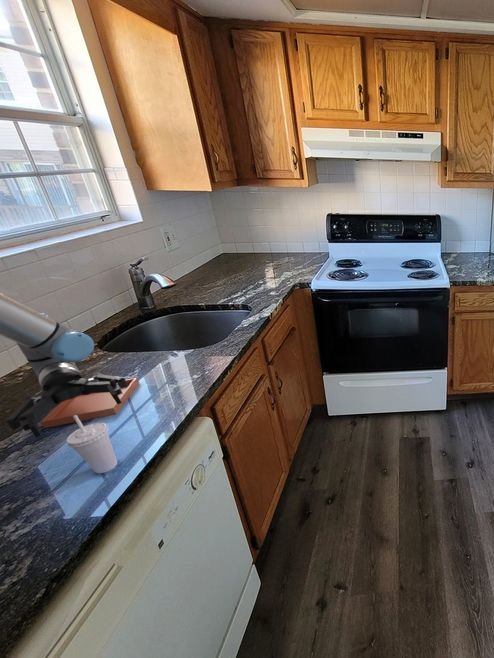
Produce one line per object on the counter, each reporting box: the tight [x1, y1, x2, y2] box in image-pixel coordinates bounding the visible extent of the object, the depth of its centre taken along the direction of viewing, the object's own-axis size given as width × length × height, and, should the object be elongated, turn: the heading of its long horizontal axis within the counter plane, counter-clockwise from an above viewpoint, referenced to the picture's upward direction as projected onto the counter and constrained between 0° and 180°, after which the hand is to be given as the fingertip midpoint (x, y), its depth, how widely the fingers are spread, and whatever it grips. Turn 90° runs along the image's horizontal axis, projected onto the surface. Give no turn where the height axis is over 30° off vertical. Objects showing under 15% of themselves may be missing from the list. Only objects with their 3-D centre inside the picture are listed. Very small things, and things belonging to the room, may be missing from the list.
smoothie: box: [65, 415, 118, 474], centre depth 77 cm, size 6×6×14 cm
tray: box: [40, 377, 140, 429], centre depth 100 cm, size 15×15×2 cm
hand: (78, 414), depth 81 cm, fingers open, 13 cm apart
